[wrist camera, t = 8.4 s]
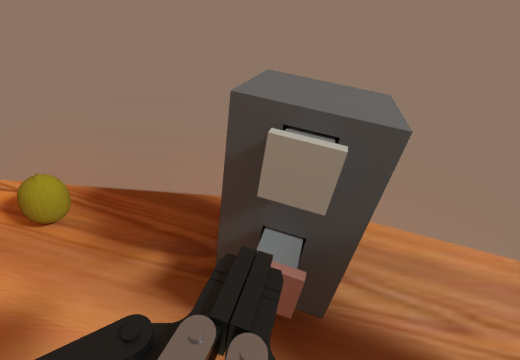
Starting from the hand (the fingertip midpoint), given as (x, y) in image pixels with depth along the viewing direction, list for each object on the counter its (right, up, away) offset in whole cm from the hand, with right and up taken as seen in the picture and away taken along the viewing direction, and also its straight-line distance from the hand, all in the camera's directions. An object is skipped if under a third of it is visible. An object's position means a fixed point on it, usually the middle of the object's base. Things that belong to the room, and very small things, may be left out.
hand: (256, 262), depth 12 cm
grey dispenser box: (+3, -8, +26) cm, 27 cm away
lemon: (-29, -2, +26) cm, 40 cm away
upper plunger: (+4, +4, +12) cm, 14 cm away
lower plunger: (+2, -6, +17) cm, 18 cm away
